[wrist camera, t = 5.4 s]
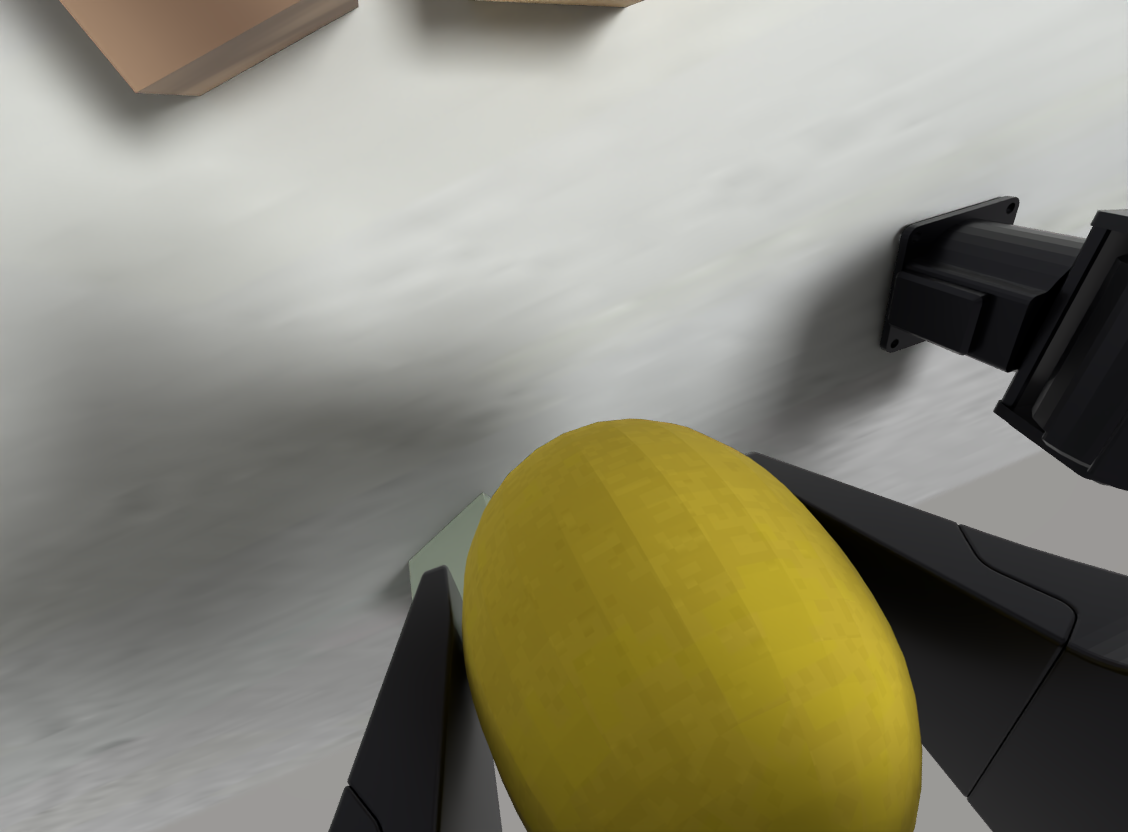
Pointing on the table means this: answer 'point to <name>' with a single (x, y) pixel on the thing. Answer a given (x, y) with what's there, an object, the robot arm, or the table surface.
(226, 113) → the table surface
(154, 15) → the walnut block
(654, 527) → the lemon
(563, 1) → the oak block
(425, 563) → the sage block
